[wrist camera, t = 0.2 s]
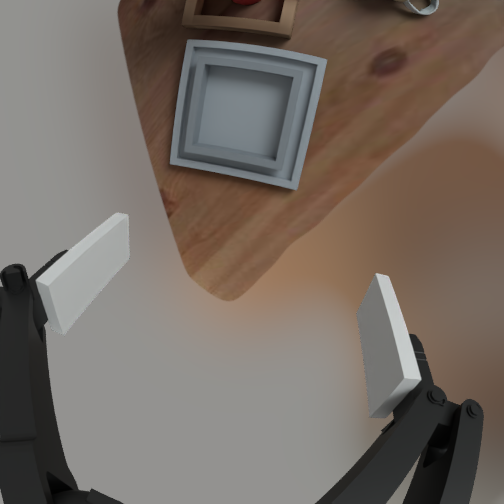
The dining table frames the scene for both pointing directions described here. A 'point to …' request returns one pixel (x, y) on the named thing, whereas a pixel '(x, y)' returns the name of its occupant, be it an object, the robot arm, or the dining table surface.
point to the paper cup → (246, 2)
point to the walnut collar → (240, 20)
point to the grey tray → (246, 110)
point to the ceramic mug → (426, 11)
